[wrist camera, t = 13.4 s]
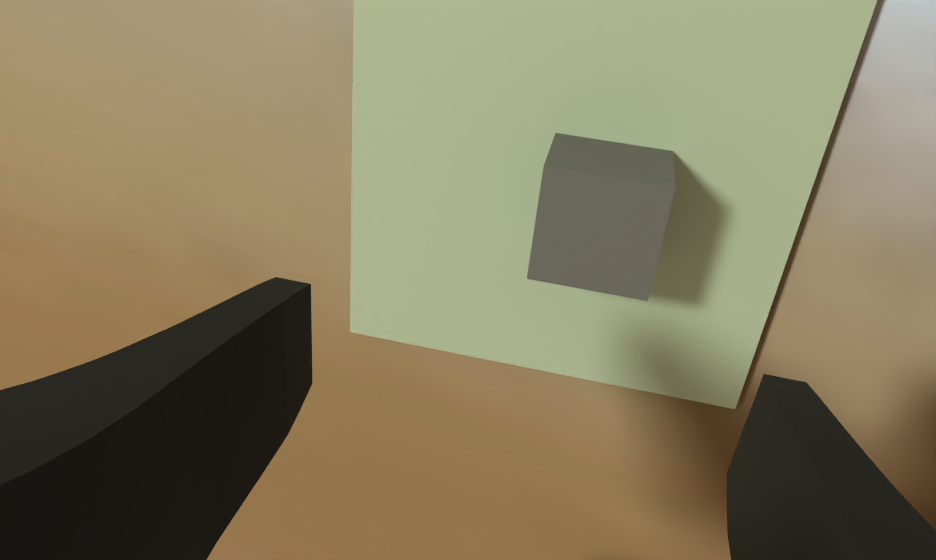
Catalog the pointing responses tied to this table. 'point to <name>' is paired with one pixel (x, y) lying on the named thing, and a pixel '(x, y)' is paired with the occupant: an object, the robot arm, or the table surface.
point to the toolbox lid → (589, 177)
